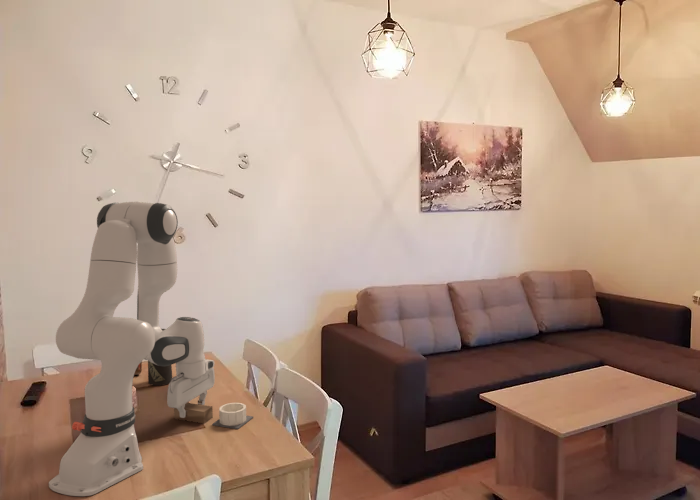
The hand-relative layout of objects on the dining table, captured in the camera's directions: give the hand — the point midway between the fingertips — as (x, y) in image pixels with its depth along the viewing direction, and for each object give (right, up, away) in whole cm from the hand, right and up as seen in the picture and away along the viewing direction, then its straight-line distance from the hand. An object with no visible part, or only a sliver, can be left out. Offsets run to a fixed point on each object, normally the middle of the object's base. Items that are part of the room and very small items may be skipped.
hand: (192, 410), depth 173 cm
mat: (+13, -2, -3) cm, 14 cm away
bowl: (+13, -2, -3) cm, 14 cm away
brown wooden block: (0, -3, 0) cm, 3 cm away
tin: (-36, +2, +45) cm, 58 cm away
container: (-21, +1, +33) cm, 39 cm away
